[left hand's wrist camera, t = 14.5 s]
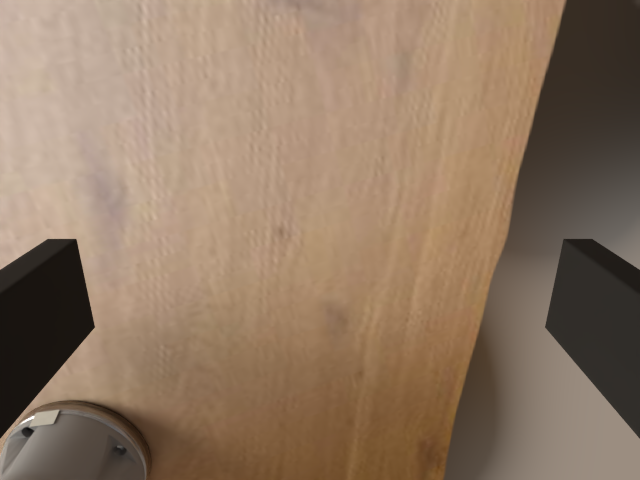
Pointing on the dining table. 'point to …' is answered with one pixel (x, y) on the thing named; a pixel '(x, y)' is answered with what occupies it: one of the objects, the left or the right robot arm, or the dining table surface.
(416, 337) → the dining table surface
